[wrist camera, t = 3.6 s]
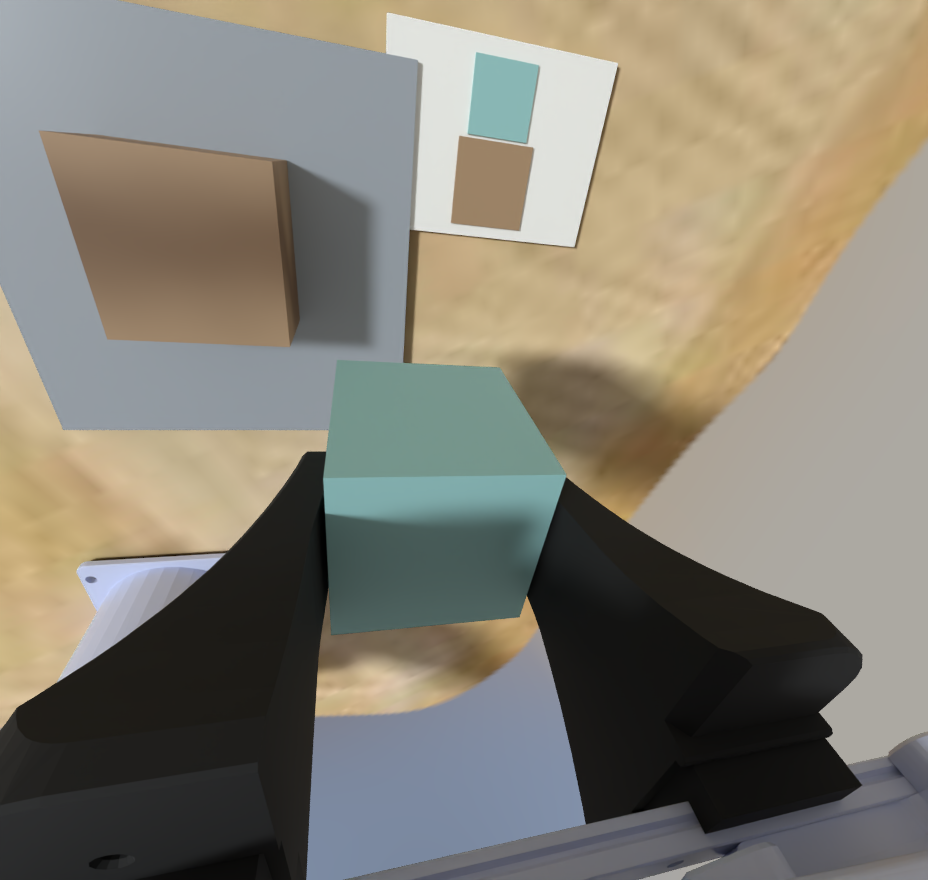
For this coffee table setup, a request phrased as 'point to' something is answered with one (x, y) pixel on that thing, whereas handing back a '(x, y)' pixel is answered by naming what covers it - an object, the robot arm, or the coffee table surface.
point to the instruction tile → (500, 132)
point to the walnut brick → (180, 239)
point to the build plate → (221, 129)
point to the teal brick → (432, 496)
